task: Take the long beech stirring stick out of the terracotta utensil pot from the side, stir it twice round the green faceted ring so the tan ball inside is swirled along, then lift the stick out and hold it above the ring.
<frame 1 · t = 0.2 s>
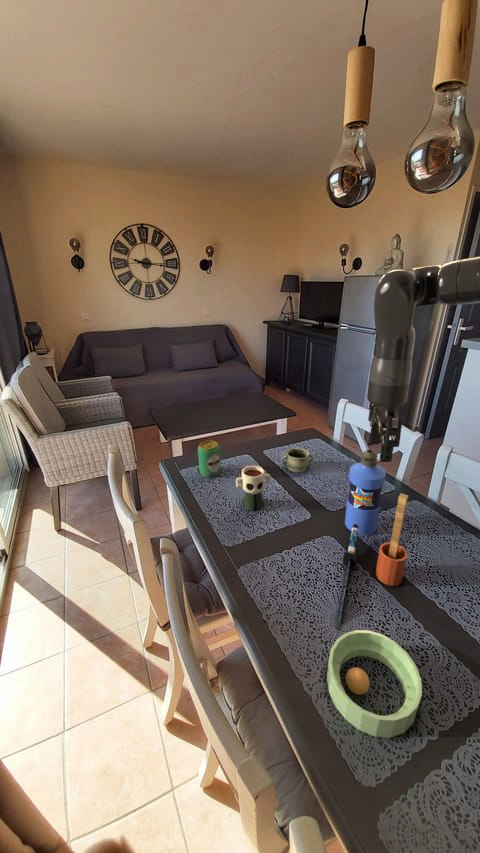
hand: (379, 451, 78), 34 cm above the table, tool pointing down, fingers open, 8 cm apart
green faceted ring: (369, 691, 65), on the table
water bottle: (360, 526, 107), on the table
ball: (356, 687, 65), point 1 cm above the table, touching green faceted ring
vessel: (297, 467, 139), on the table
stick: (388, 577, 88), point 1 cm above the table, touching holder
beverage can: (210, 473, 137), on the table
knife: (346, 578, 89), on the table
holder: (388, 579, 88), on the table
character mug: (253, 506, 117), on the table
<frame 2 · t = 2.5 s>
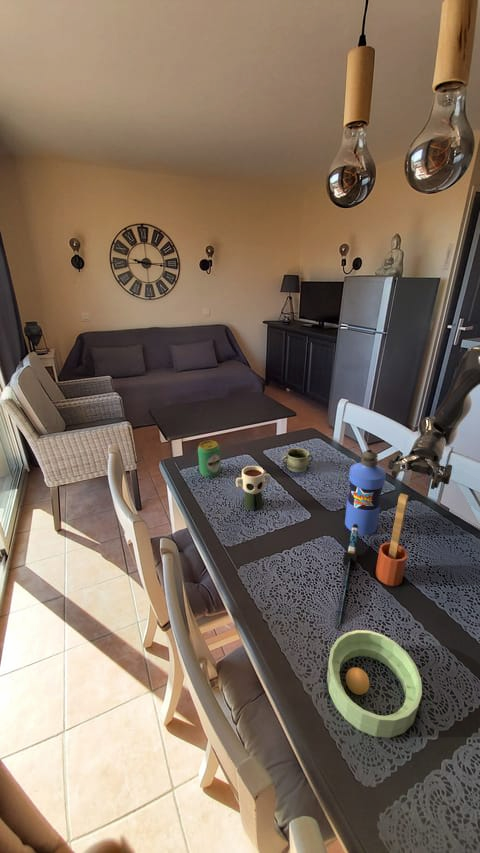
hand: (413, 480, 87), 23 cm above the table, tool horizontal, fingers open, 8 cm apart
nothing on the table moved.
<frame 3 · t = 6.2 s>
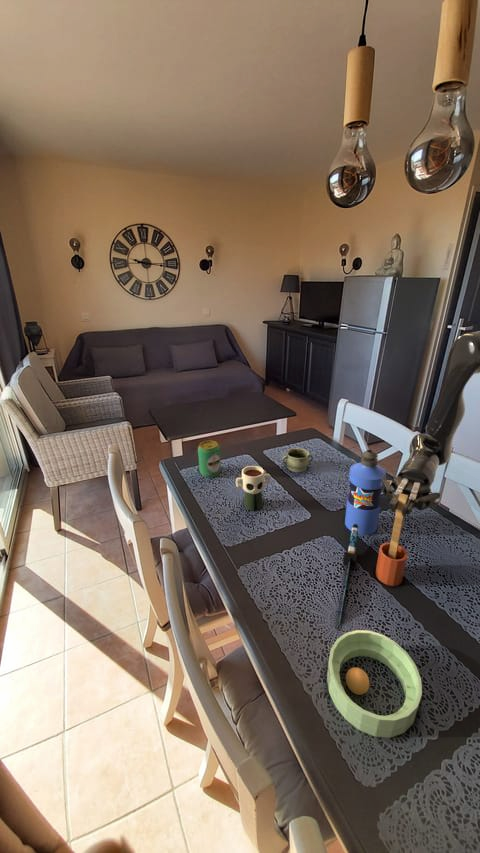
hand: (398, 510, 77), 23 cm above the table, tool horizontal, fingers closed on stick, 1 cm apart
stick: (388, 577, 88), point 1 cm above the table, touching gripper, holder
everything else where it was.
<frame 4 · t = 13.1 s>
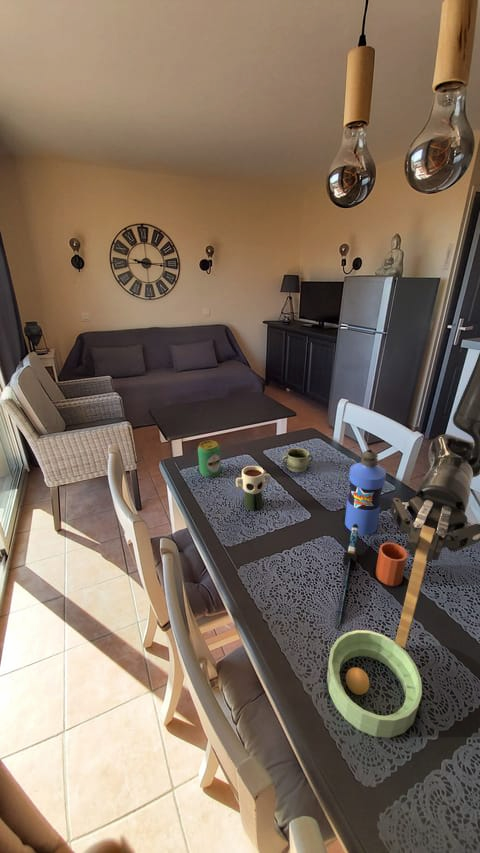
hand: (421, 553, 50), 34 cm above the table, tool horizontal, fingers closed on stick
stick: (401, 642, 61), point 12 cm above the table, touching gripper
everything else where it was.
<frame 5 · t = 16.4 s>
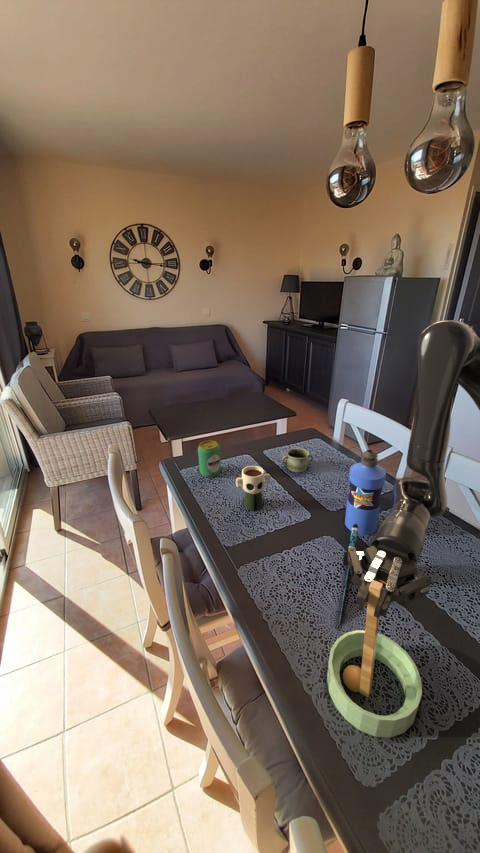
hand: (369, 609, 52), 26 cm above the table, tool horizontal, fingers closed on stick, 1 cm apart
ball: (356, 687, 65), point 1 cm above the table, tilted 17°, touching green faceted ring, stick
stick: (365, 691, 62), point 4 cm above the table, touching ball, gripper
everything else where it was.
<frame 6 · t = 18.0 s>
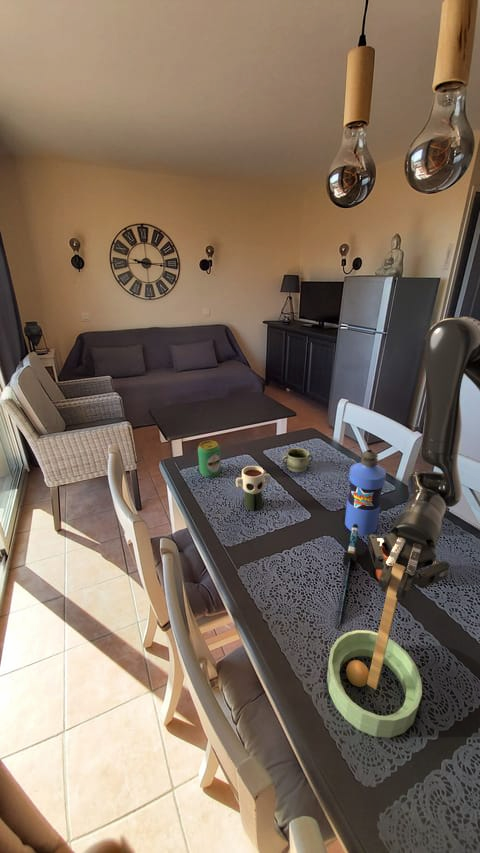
hand: (391, 591, 55), 25 cm above the table, tool horizontal, fingers closed on stick, 1 cm apart
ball: (357, 685, 65), point 1 cm above the table, tilted 34°, touching green faceted ring
stick: (372, 684, 63), point 4 cm above the table, tilted 10°, touching gripper
everything else where it was.
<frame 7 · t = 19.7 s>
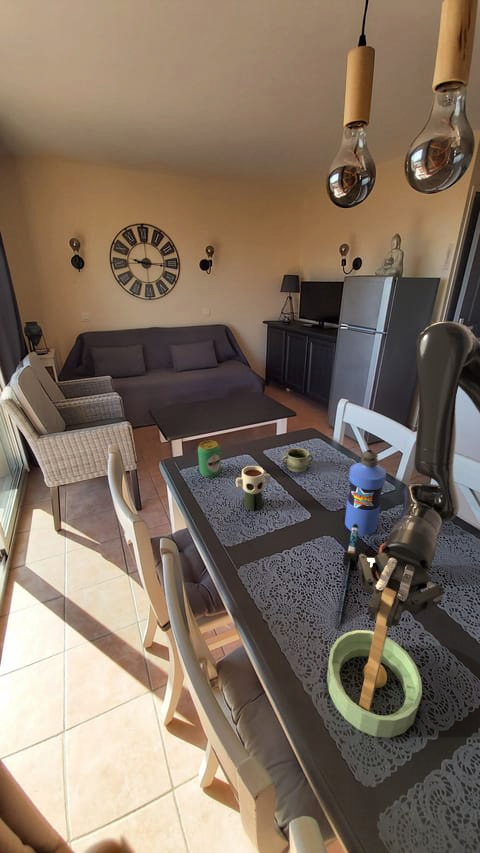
hand: (381, 619, 51), 25 cm above the table, tool horizontal, fingers closed on stick, 1 cm apart
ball: (367, 680, 65), point 3 cm above the table, tilted 89°, touching green faceted ring
stick: (363, 712, 59), point 4 cm above the table, tilted 9°, touching gripper
everything else where it was.
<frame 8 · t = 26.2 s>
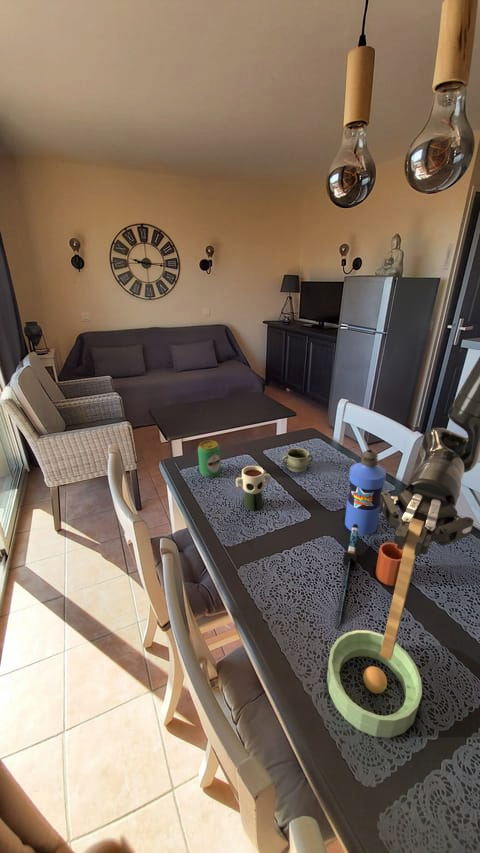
hand: (409, 547, 49), 36 cm above the table, tool horizontal, fingers closed on stick
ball: (368, 689, 64), point 2 cm above the table, tilted 70°, touching green faceted ring
stick: (386, 654, 57), point 14 cm above the table, tilted 9°, touching gripper
everything else where it was.
at the end: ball moved 2.4 cm from its start; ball inside the target area in the green faceted ring (1.2 cm from its centre), point 2.1 cm above the green faceted ring's base; stick inside the target area on the green faceted ring (2.7 cm from its centre), point 14.2 cm above the green faceted ring's base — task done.
